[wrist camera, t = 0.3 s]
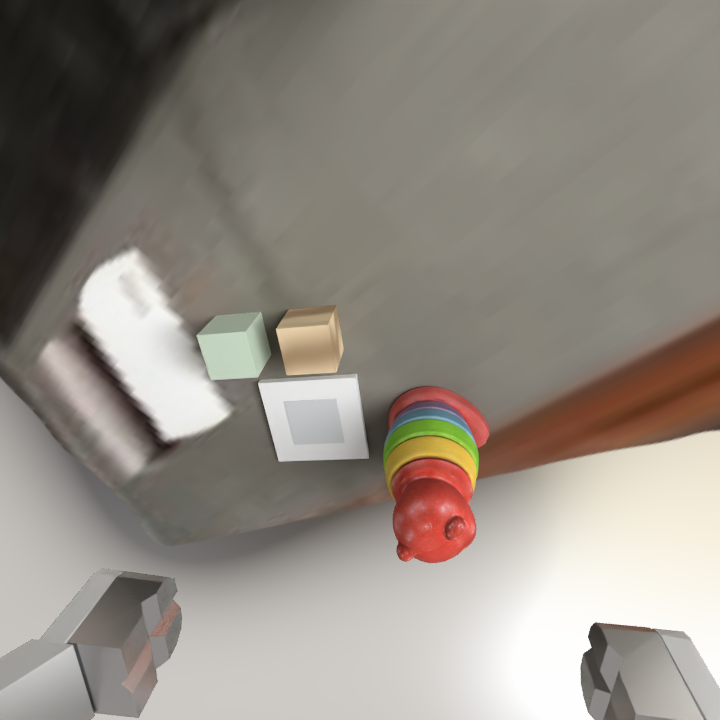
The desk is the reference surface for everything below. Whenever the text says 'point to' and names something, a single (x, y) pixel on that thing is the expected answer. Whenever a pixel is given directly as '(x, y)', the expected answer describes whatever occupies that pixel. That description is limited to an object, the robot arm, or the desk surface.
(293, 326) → the oak block
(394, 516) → the stacking bear
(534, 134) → the desk surface
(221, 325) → the sage block
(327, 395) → the plate
